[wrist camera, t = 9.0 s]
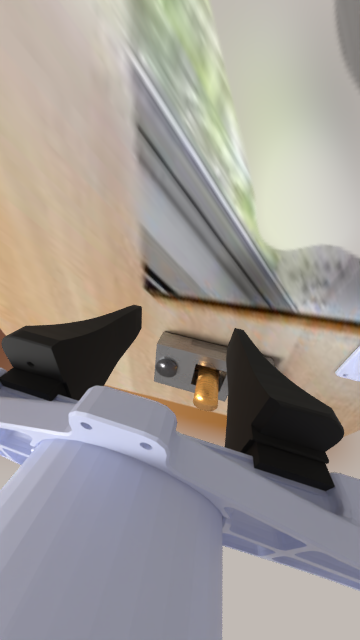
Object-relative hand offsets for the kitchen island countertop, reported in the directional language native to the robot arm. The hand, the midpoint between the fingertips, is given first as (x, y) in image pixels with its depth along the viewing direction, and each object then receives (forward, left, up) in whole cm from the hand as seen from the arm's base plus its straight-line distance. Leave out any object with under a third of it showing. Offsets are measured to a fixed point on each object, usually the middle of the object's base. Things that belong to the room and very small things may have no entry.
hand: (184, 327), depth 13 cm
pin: (-4, +12, -9) cm, 16 cm away
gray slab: (-4, +12, -9) cm, 16 cm away
